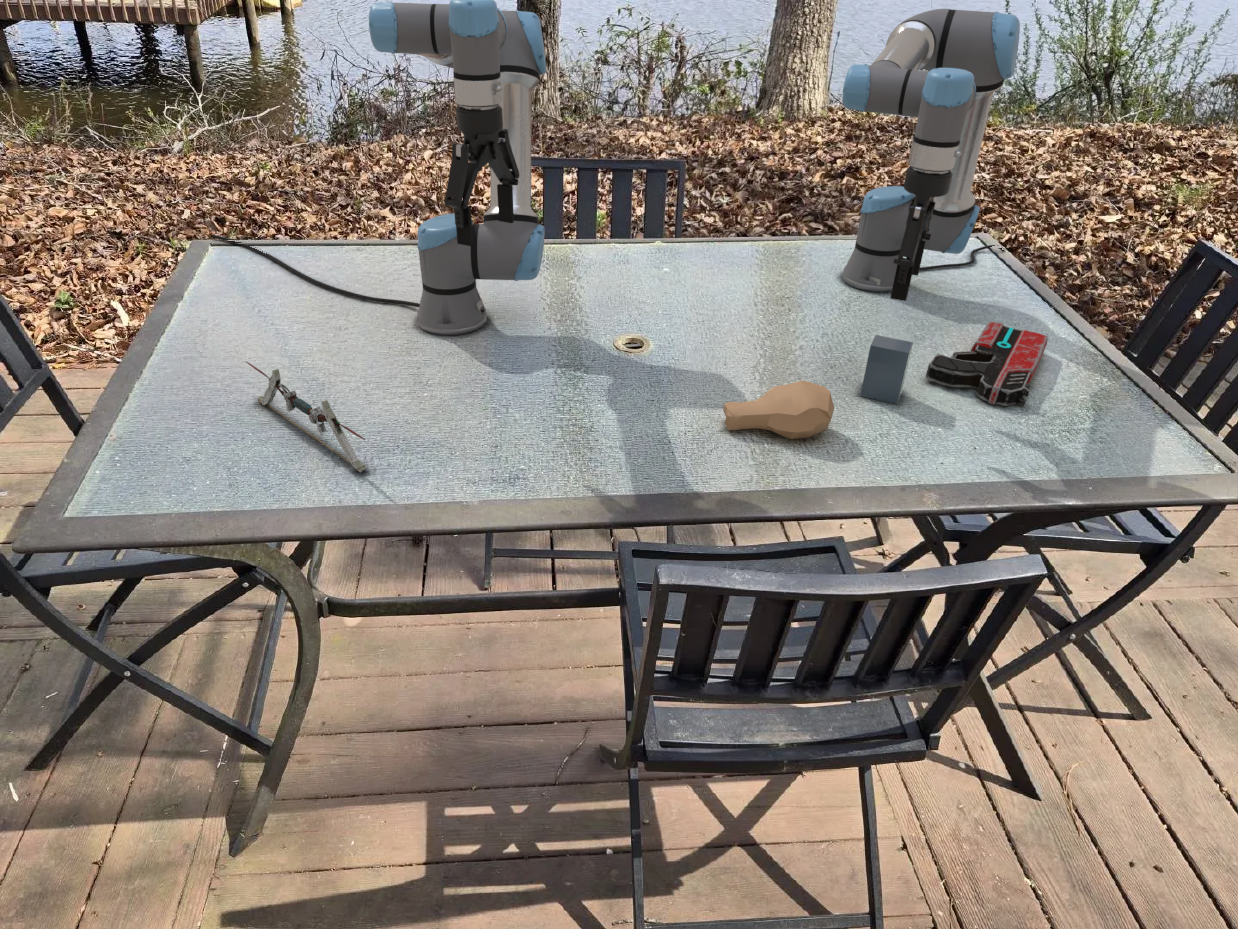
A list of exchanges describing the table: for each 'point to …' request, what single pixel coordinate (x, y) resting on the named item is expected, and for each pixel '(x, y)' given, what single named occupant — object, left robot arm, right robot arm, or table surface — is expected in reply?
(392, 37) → the left robot arm
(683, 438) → the table surface
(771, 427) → the squash
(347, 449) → the bow
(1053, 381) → the table surface
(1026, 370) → the gun
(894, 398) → the brick
